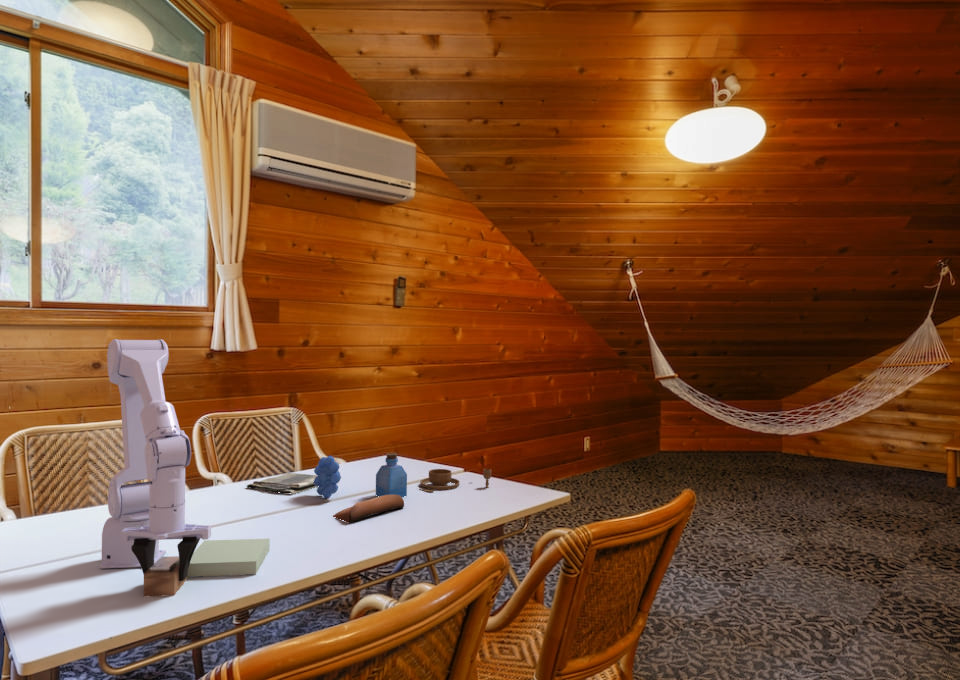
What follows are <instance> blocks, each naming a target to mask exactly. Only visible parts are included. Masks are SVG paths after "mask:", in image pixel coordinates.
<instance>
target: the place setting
mask: <svg viewBox="0 0 960 680" xmlns="http://www.w3.org/2000/svg"><path fill="white" fill-rule="evenodd" d="M482 474H483V479H485V483H484V484H485V487H484V488H485V489H489V488H490V486H489V485H490V483H489V481H490V479H491V478H492V469H491V468H484V469H483V472H482ZM450 482H451V483H450ZM470 482H471V483H470V484H473V482H472V481H470ZM430 483H431V484H432V485H428V484H430ZM449 483H450V484H451V485H448V484H449ZM454 483H455V484H454ZM419 484H420V486H421V487H422V488H424V489H421V488H418V489H419V490H418V491H424V492H425V491H426V492H425V493H433V492H435V491H448V490H447V489H450V490H454V489H456V487H457V488H458V487H459V486H460V480H459V479H457V478H454V477H452V470H450V469H447V468H435V469H430V470H429V471H428V477H426V478H423V479H421V480H420V483H419ZM453 488H454V489H453ZM430 489H432V490H430Z"/></svg>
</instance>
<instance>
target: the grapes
mask: <svg viewBox="0 0 960 680" xmlns="http://www.w3.org/2000/svg"><path fill="white" fill-rule="evenodd" d="M339 470H340V464H339V463H338V461H337V462H336V460H335V458H334V457H333V456H332V455H328V456H323V457H320V459H319V461H318V464H317V465H316V467H315V468H314V470H313V471H314V475H317V477H316V478H315V479H314V484H315V485H316V486H319V487H316V492H317V495H319V496H322V497H323V498H325V499H329V498H331V496H332V495H334V494H336V493H337V492H338V490H339V486H338V484H339V483H340V481H341V479H342V476H341V473H340V471H339Z"/></svg>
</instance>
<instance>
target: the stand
mask: <svg viewBox="0 0 960 680" xmlns="http://www.w3.org/2000/svg"><path fill="white" fill-rule="evenodd" d="M270 540H271V539H270V538H246V539H245V538H244V539H243V538H242V539H214V540H209V539H207V540H203V541H202V542H201V544H200V545H199V546H198V548H197V547H196V548H197V549H195V551H194V553H193V556H192V558H191V561H190V564H189V568H188V573H187V578H191V577H190V576H203V577H220V576H221V577H224V576H225V577H226V576H227V577H228V576H246V574H253V575H257V574H256V573H258V571H259V570H260V569H261V567H260V566H262V564H264V562H265V559H266V558H267V556H268V554H269V553H270ZM266 555H267V556H266ZM265 557H266V558H265Z"/></svg>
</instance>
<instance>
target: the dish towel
mask: <svg viewBox="0 0 960 680" xmlns="http://www.w3.org/2000/svg"><path fill="white" fill-rule="evenodd" d="M317 476H318V475H316V474H309V473H307V474H305V473H296V472H295V473H294V472H293V473H292V472H287V473H285V474H282V475H278V476H273V477H268V478H266V479H262V480H259V481H258V480H256V481H253V482H252V483H250V484H247V485H246V488H247V489H253V490H257V491H261V490H262V492H270V493H273V492H275V493H274V494H279V493H278V492H280V493H282V494H284V493H291V495H290V496H293V494H294V495H296V493H297V494H300V492H301V493H304V492H307V491H310V490H312V488H313V489H315V487H316V488H318V486H316V485H315V484H314V479H315V478H316V477H317ZM309 489H310V490H309ZM306 490H307V491H306ZM303 491H304V492H303Z"/></svg>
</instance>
